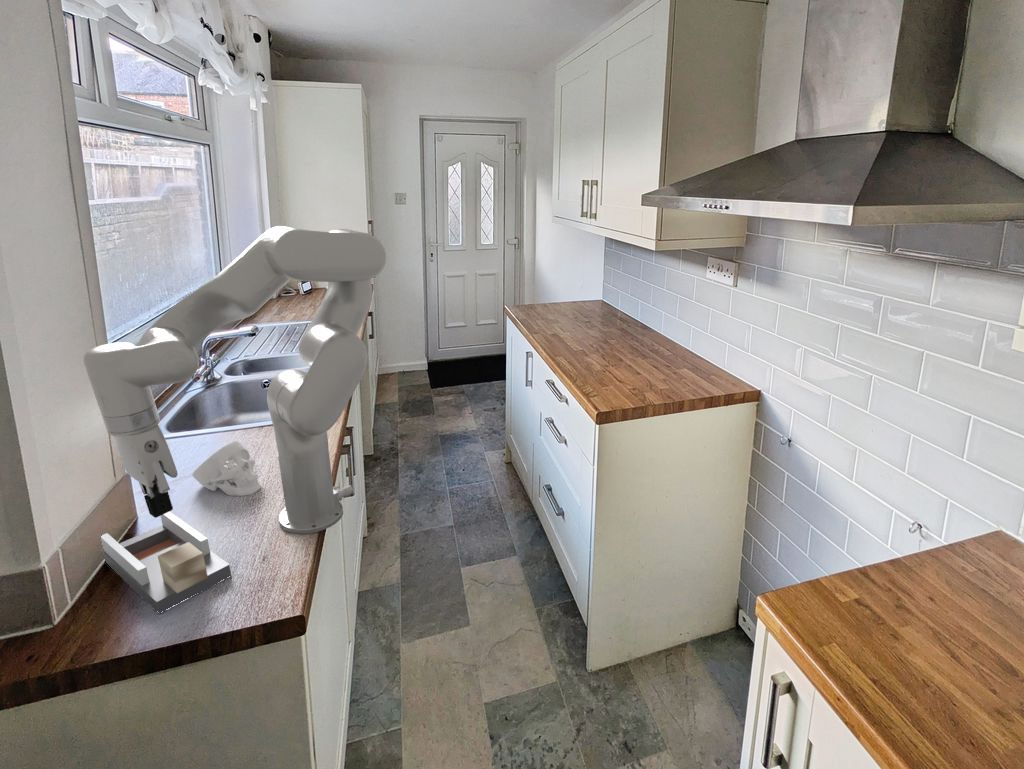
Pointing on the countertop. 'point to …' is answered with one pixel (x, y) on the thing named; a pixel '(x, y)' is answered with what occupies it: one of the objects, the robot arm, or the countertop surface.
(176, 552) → the block
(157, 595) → the gray tray
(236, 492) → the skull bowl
